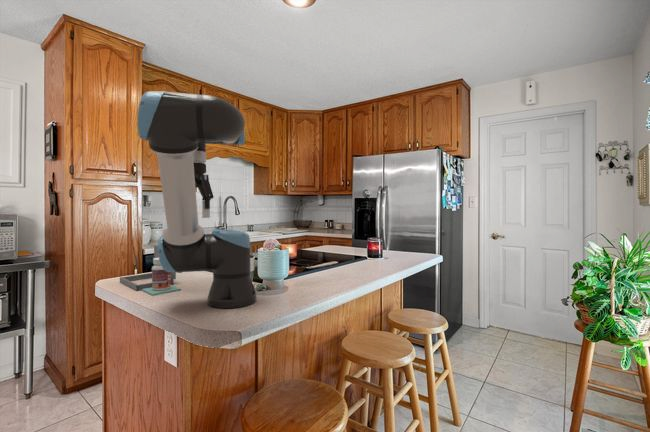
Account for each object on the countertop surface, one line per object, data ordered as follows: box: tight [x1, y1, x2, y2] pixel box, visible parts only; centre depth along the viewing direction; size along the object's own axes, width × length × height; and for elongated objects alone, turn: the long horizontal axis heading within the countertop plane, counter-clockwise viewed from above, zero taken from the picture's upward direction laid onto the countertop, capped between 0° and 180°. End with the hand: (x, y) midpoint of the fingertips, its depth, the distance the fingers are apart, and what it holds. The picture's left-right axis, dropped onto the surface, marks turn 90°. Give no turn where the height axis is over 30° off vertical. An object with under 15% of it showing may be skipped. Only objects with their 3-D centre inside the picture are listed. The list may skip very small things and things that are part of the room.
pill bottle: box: [151, 257, 171, 291], centre depth 123 cm, size 6×6×11 cm
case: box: [119, 244, 177, 292], centre depth 134 cm, size 20×14×14 cm
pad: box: [141, 284, 182, 296], centre depth 123 cm, size 10×10×1 cm
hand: (196, 217), depth 131 cm, fingers open, 13 cm apart
